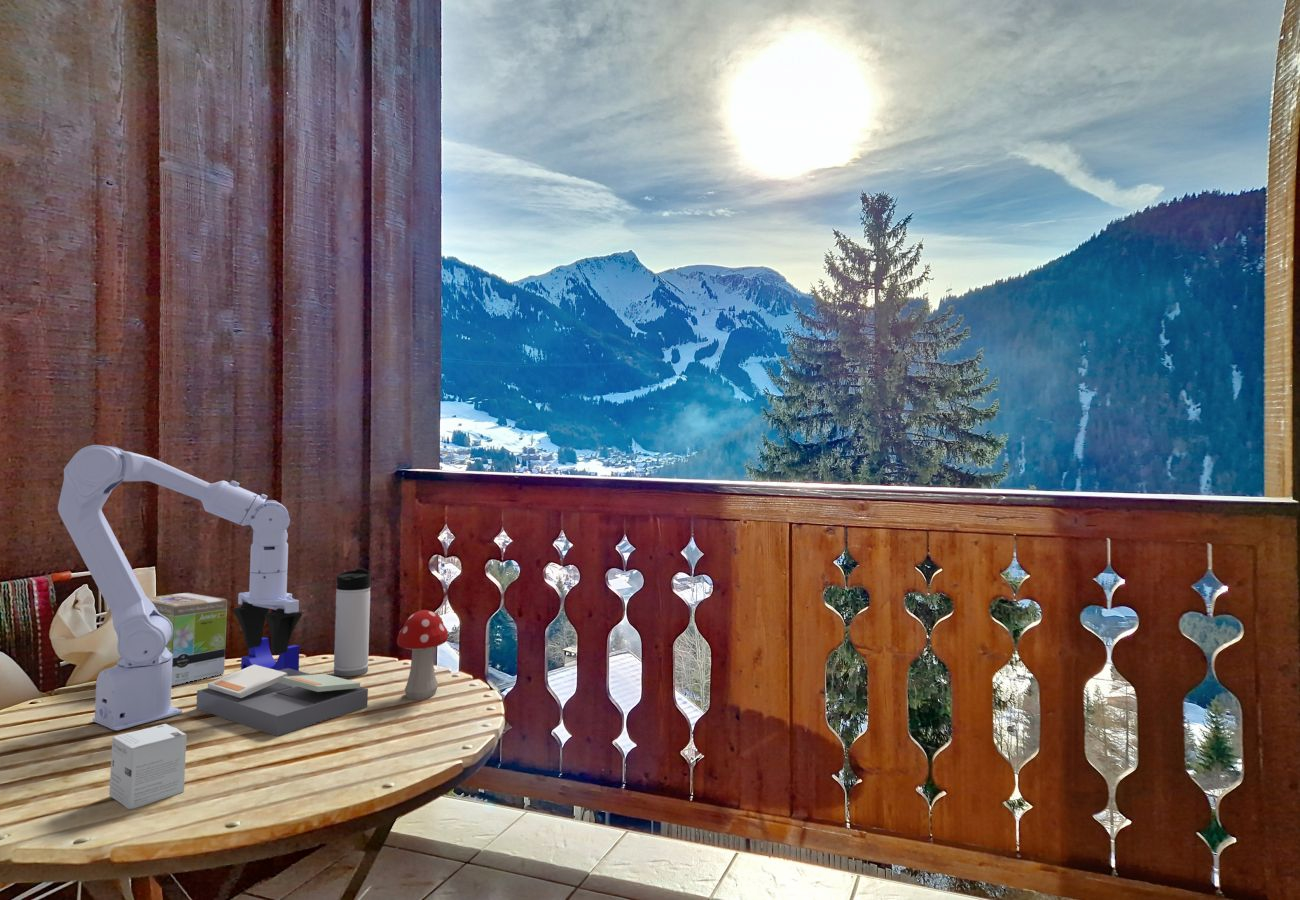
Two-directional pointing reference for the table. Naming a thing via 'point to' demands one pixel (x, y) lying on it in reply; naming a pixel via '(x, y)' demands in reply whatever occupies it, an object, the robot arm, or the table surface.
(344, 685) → the plate
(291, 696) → the switch block
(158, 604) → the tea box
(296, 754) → the table surface
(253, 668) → the cream rocker
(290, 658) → the blue curved bracket
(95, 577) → the robot arm
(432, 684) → the decorative mushroom
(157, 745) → the skincare box
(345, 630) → the travel mug
